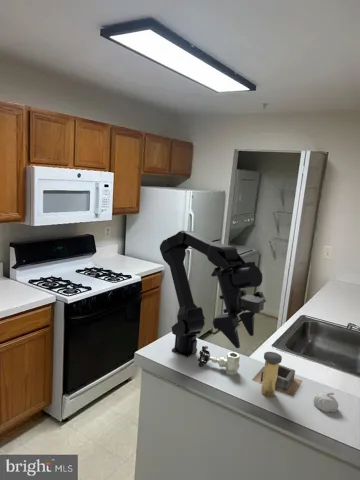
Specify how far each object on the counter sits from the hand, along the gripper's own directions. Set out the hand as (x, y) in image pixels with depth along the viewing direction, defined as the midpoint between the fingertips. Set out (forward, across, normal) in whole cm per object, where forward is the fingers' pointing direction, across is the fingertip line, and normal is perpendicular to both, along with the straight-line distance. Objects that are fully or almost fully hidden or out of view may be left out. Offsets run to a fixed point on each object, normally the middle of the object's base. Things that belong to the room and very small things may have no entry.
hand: (245, 341), depth 100 cm
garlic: (+21, +2, -16) cm, 26 cm away
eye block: (+15, +6, -3) cm, 16 cm away
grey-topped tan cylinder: (+15, -3, -4) cm, 15 cm away
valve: (+9, -1, +12) cm, 15 cm away
